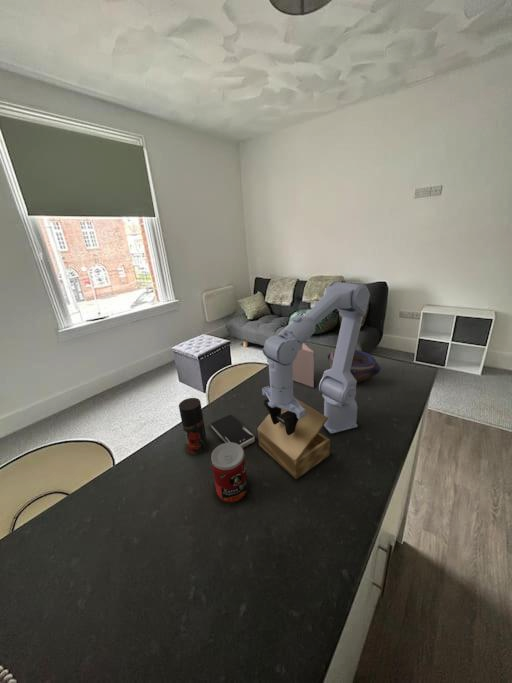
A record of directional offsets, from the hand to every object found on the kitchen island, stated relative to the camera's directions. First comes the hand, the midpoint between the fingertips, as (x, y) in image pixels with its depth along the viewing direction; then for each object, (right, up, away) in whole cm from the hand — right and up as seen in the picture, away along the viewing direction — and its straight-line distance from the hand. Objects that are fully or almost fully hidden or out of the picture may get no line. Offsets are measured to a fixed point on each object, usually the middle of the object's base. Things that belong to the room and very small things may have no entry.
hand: (283, 427), depth 73 cm
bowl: (+32, +8, +40) cm, 52 cm away
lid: (+2, 0, +2) cm, 3 cm away
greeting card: (+11, +6, +40) cm, 42 cm away
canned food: (-13, -14, -5) cm, 20 cm away
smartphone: (-15, -6, +13) cm, 21 cm away
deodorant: (-25, -9, +9) cm, 28 cm away
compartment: (+3, -8, +5) cm, 10 cm away
